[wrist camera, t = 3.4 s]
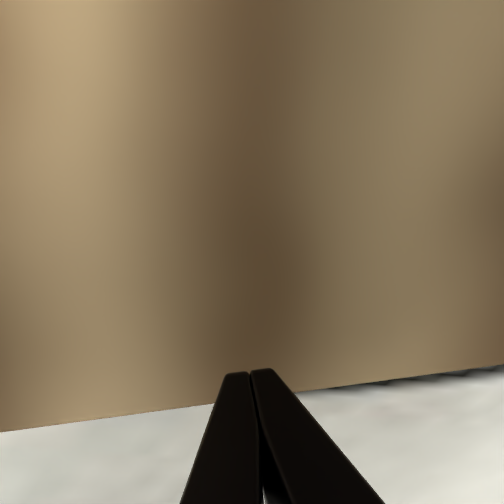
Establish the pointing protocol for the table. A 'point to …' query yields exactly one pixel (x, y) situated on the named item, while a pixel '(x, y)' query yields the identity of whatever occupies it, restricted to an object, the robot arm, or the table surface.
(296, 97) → the oak plank
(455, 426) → the table surface
